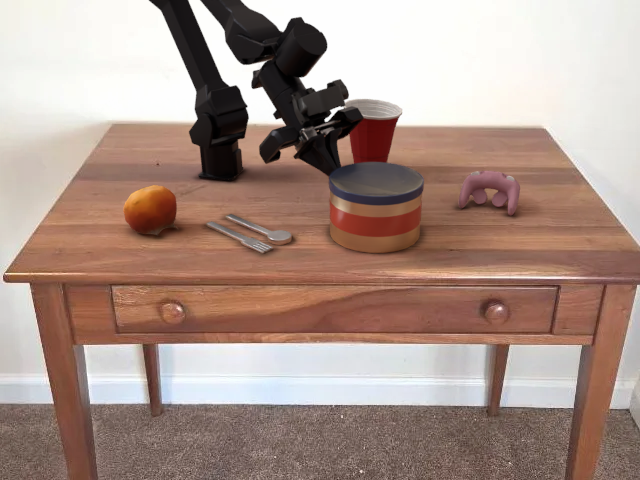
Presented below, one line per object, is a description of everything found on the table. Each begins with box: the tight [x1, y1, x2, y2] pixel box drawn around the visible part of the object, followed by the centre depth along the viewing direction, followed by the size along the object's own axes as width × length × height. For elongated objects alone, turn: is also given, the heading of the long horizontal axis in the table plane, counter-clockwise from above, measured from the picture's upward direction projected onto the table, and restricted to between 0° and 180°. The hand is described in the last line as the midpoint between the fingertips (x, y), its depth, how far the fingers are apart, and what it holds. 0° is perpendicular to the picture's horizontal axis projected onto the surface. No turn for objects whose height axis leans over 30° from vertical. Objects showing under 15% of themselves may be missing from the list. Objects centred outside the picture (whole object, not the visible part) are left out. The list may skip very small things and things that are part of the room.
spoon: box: [225, 213, 292, 246], centre depth 116 cm, size 14×4×1 cm, turn 49°
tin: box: [328, 162, 425, 254], centre depth 114 cm, size 14×14×9 cm
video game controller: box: [457, 170, 521, 216], centre depth 125 cm, size 10×5×7 cm, turn 71°
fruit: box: [122, 184, 179, 237], centre depth 115 cm, size 8×8×8 cm
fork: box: [205, 220, 274, 255], centre depth 114 cm, size 14×2×1 cm, turn 49°
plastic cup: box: [342, 98, 403, 164], centre depth 137 cm, size 11×11×12 cm
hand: (340, 179), depth 117 cm, fingers closed, pressing on tin
